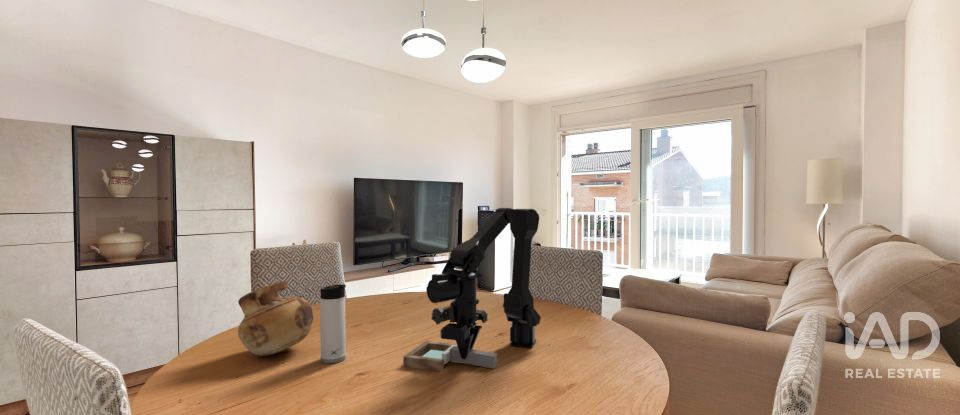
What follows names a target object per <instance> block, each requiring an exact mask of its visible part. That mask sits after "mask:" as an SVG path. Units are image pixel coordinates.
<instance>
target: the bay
mask: <svg viewBox="0 0 960 415" xmlns="http://www.w3.org/2000/svg"><path fill="white" fill-rule="evenodd" d="M452 345H457V343H448V342H439V341H429V340H425V341H424V342H422V343H421V344H420V345H418V346H416V347H415V348H414V349H412V350H411V351H410V352H408V353H406V354H405V355H404V356H402V357H403V360H402V362H403V365H402V366H403V367H404V368H405V367H406V368H412V369H413V368H414V369H419V370H420V369H421V370H427V371H435V372H442V371H444V369H445V367H444V366H445V364H444V359H437V358H429V357H422V356H423V355H425V354H426V353H427V352H429V351H430V350H438V351H446V350H447V349H448V348H449V347H451V346H452ZM457 347H458V346H457Z"/></svg>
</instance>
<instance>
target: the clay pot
mask: <svg viewBox="0 0 960 415" xmlns="http://www.w3.org/2000/svg"><path fill="white" fill-rule="evenodd" d="M288 285H289V284H288V282H287V281H286V280H282V281H279V282H274V283H273V284H270V285H267V286H263V287H261V288H258V289H256V290H253V291H251V292H248V293H246V294H245V295H242V296H241V297H240V298H239V299H238V302H237V303H238V305H239V307H240V308H241V310H242V313H243V315H244V316H243V319H242V320H241V322H240V323H239V324H238V329H237V336H238V338H239V340H240V342H241V344H242V345H243V347H245V348H246V349H247V350H248V351H249V352H250V353H252V354H254V355H256V356H262V357H265V356H272V355H274V354H277V353H280V352H283V351H285V350H286V349H289V348H291V347H294V346H295V345H297V344H299V343H300V342H302V341H303V340H304V339H306V337H308V335H309V333H310V332H311V331H312V327H313V323H314V312H313V311H314V310H313V308H312V306H311V304H310V303H309V302H308V301H307V300H306V299H305V298H303V297H301V296H300V297H299V296H286V297H281V296H280V295H279V293H280V292H282V291H285V290H286V289H288V288H289V286H288Z"/></svg>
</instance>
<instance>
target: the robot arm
mask: <svg viewBox="0 0 960 415" xmlns="http://www.w3.org/2000/svg"><path fill="white" fill-rule="evenodd" d="M539 223H540V214H539V213H538V212H537V210H536V209H534V208H515V209H514V208H512V207H498V208H496V209H495V211H494V213H493V214H492V215H491V216H490V217H489V219H488V220H487V221H485V223H484V224H483V225H482V226H481V228H479V229H478V230H477V231H476V233H475V234H474V235H473V236H472V237H471V238H470V239H468V240H465V241H463V242H461V243H460V244H458V245H457V246H456V247H454V248H453V249H452V250H451V251H450V252H449V253H450V254H449V258H448V259H447V262H446V263H445V265H444V268H443V269H442V271H441V273H439V274H438V273H434V274H431V279H430V280H429V281H428V283H427V285H426V291H425V292H426V295H427V297H428V300H429V301H430V302H431V303H432V304H438V303H443V302H448V301H451V300H453V301H451V302H450V304H449V305H448V306H445V307H441V306H439V307H437V308H434V309H433V310H432V313H431V320H432V321H434V322H435V324H436V325H440V324H441V323H444V322H446V321H447V322H448V321H449V322H448V324H446V325H444V326H443V327H442V328H441V329H440V332H439V333H440V339H441V340H451V341H455V344H457V346H458V349H459V352H460V355H461V358H462V359H466V357H467V354H468V351H469V349H473V347H474V346H475V343H476V341H477V339H478V336H479V334H480V332H481V329H482V328H483V326H482V325H478V323H477V321H481V323H482V324H485V323H486V322H488V313H487V312H486V310H483V309H477V305H478V304H479V303H480V299H479V298H477V279H480V278H483V276H484V275H483V274H482V272H480V271H478V269H479V267H480V266H481V264H482V263H483V260H484V259H485V255H486V254H485V253H486V251H487V249H488V248H489V247H490V245H491V244H492V243H493V242H494V241H495V240H496V239H497V237H499V235H500V234H501V233H502V232H503V231H504V230H505V228H507V226H508V225H509V228H510V229H509V230H510V231H511V234H512V236H513V238H514V243H513V260H512V261H513V262H512V274H511V275H512V276H511V287H510V289H509V291H508V292H507V293H506V292H505V293H504V294H503V303H502V304H503V305H502V308H503V313H504V314H505V316H506V320H507V322H511V326H510V328H509V341H510V344H509V345H510V346H512V347H521V348H530V349H532V348H533V347H534V346H535V344H536V343H537V339H536V327H537V326H538V325H540V322H541V315H540V314H539V313H538V311H537V310H536V309H535V308H534V306H535V303H534V297H533V295H532V293H531V290H530V289H529V288H530V275H531V274H530V272H531V271H530V270H531V255H532V240H533V238H535V235H536V233H537V232H538V229H539Z"/></svg>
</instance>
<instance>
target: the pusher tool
mask: <svg viewBox="0 0 960 415" xmlns="http://www.w3.org/2000/svg"><path fill="white" fill-rule="evenodd" d="M442 359H444V363H445V364H446V365H447V363H448V362H451V361H452V362H454V363H455V362H457V363H461V364H465V365H466V364H467V365H471V366H478V367H482V368H488V369H493V370H494V369H495V368H496V367H497V365H498V364H497V363H498V353H495V352H490V351H486V350H484V351H483V350H478V349H473V348H472V349H469V351H468V354H467V357H466V359H462V358H461V355H460V352H459V349H458V347H457V345H452V346H451V347H449V348H448V349H447V350H446V351H444V352H443V353H442ZM445 364H444V365H445Z"/></svg>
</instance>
